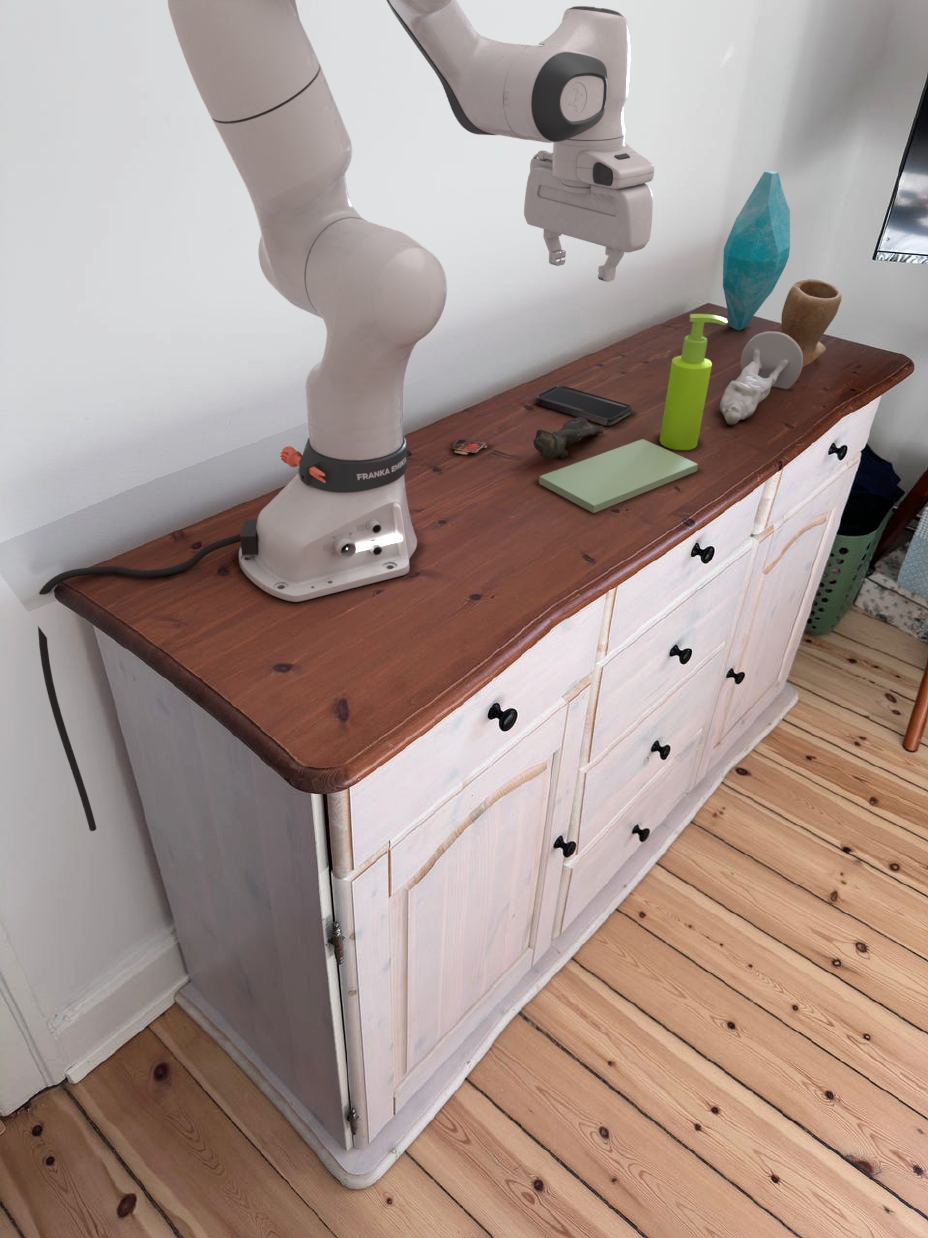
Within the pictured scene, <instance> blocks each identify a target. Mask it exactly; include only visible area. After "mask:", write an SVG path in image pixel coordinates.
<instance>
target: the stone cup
mask: <svg viewBox="0 0 928 1238" xmlns="http://www.w3.org/2000/svg"><path fill="white" fill-rule="evenodd" d="M842 298H843V297H842V293H841V290H840V289H838V287H836V286H835V285H833V284H831V283H829V282H828V281H825V280H821V279H816V278H804V279H799V280H798V281H796V282H795V283H794V284H793V285H792V286H791V288H790V289H789V290H788V293H787V296H786V298H785V300H784V304H783V307H782V311H781V322H780V323H781V325H780V333H784V334H786V335H788V336H789V337H791V338H792V339H793V340H794V341H795V342H796V343H797V344H798V345H799V347H800V349H801V351H802V354H803V366H802V368H804V367H806V366H808V365H810V364H812V363H813V362H814V361H816V360H817V359H818V358H819V357H820V356H822V354H824V353H825V351H826V350H827V347H825V345H824V344H823V343H821V342H820V340H821V338H822V337H823V335H824V334H825V333H826V331H827V329H828V328H829V326H830V325H831V323H832V322H833V320H834V319H835V317H836V316H837V313H838V311H839V308H840V305H841V303H842Z"/></svg>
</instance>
